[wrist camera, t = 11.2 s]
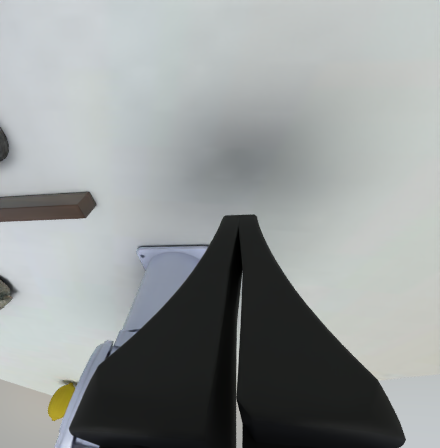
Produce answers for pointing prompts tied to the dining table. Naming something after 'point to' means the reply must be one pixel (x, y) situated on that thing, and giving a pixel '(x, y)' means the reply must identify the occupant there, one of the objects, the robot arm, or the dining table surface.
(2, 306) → the elongated rock
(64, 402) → the lemon
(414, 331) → the dining table surface
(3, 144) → the salt shaker
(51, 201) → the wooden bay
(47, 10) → the dining table surface
